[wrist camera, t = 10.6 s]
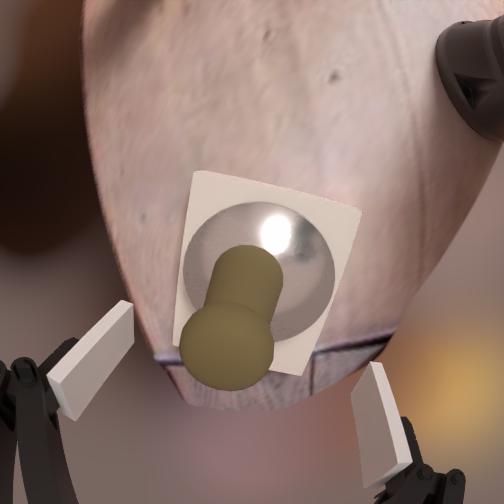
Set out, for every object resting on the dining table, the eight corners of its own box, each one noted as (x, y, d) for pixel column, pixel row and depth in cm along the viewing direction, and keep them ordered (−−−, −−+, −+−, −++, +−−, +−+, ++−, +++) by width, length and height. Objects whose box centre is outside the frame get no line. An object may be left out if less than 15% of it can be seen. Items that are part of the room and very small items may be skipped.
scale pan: (351, 222, 22) (355, 225, 21) (307, 347, 26) (308, 354, 25) (199, 185, 22) (194, 187, 21) (180, 317, 27) (177, 323, 26)
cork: (262, 321, 24) (247, 418, 14) (201, 290, 24) (151, 375, 14) (297, 266, 22) (305, 353, 12) (230, 231, 22) (185, 295, 12)
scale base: (354, 206, 25) (365, 214, 22) (300, 359, 32) (301, 381, 28) (203, 170, 26) (190, 172, 22) (180, 330, 32) (169, 350, 28)
